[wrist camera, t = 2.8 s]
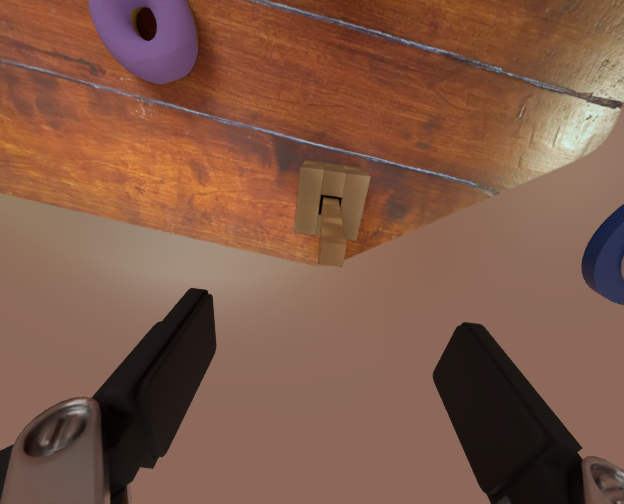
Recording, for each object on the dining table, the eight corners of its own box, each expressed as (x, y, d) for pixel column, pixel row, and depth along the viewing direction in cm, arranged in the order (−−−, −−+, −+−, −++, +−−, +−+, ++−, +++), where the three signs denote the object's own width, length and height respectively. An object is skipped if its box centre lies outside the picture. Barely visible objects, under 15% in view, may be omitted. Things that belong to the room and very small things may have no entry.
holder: (361, 166, 30) (370, 176, 24) (350, 220, 33) (356, 241, 27) (305, 159, 30) (300, 167, 24) (299, 213, 33) (293, 233, 27)
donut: (91, 39, 26) (48, 9, 21) (137, -47, 24) (100, -100, 19) (178, 109, 28) (156, 96, 23) (224, 36, 26) (210, 7, 22)
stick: (336, 186, 31) (346, 245, 15) (334, 198, 32) (342, 267, 16) (324, 184, 31) (321, 241, 15) (322, 196, 32) (318, 264, 16)
